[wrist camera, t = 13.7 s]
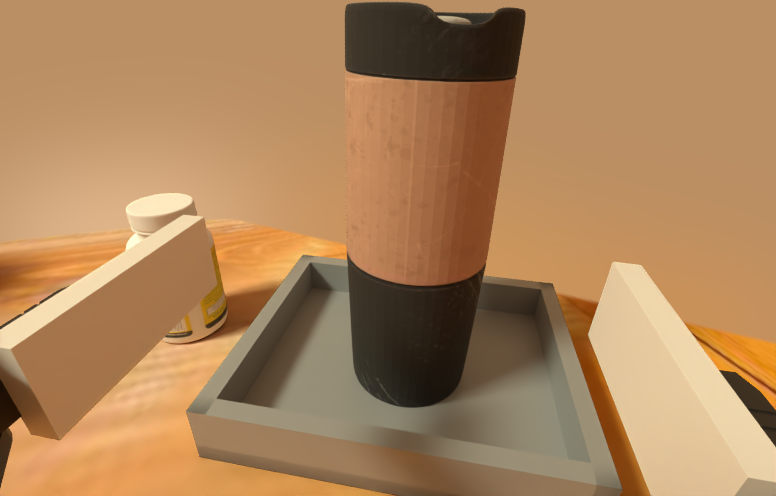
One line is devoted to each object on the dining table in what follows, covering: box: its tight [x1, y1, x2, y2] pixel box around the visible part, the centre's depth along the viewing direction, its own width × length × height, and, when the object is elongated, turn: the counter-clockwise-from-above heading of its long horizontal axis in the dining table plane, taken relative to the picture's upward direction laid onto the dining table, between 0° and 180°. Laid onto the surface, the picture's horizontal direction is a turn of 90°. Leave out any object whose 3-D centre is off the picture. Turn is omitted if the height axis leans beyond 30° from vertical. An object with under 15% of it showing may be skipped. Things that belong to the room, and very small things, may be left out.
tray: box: [186, 255, 623, 496], centre depth 26 cm, size 20×16×4 cm
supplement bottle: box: [126, 193, 228, 343], centre depth 29 cm, size 5×5×10 cm
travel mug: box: [345, 2, 525, 408], centre depth 22 cm, size 8×8×20 cm
